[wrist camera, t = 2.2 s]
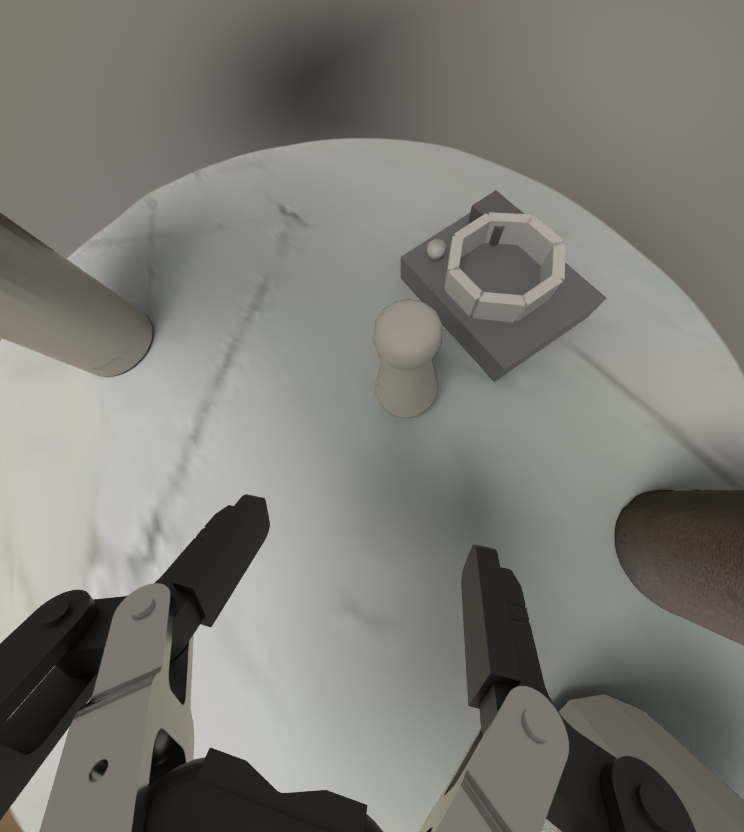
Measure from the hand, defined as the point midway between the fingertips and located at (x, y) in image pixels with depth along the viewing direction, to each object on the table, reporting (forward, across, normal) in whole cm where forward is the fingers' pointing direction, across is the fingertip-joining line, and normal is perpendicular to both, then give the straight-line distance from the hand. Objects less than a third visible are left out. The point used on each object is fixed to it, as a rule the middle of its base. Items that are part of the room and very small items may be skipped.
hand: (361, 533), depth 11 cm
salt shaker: (+20, 0, +4) cm, 20 cm away
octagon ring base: (+29, -7, -6) cm, 30 cm away
